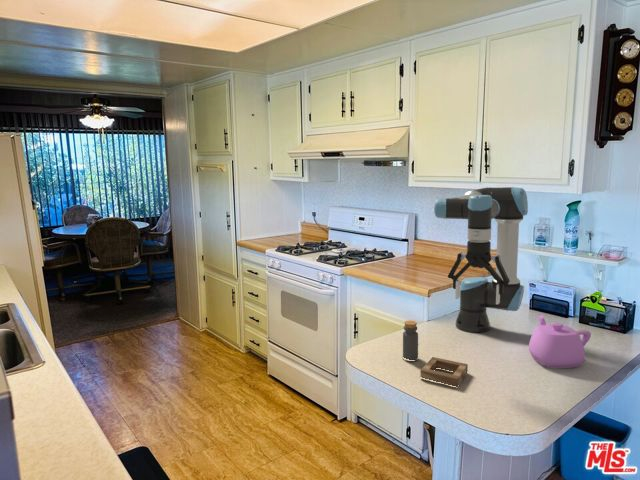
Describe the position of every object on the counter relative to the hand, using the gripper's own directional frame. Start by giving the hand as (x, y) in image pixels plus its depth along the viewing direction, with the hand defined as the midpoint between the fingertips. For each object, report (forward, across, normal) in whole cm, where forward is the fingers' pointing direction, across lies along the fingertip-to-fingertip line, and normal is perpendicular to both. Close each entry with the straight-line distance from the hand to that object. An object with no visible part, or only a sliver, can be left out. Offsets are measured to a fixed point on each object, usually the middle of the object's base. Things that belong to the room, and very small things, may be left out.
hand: (477, 300), depth 155 cm
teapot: (+28, +23, +27) cm, 45 cm away
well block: (+28, -9, -6) cm, 30 cm away
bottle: (+28, -25, +2) cm, 38 cm away
